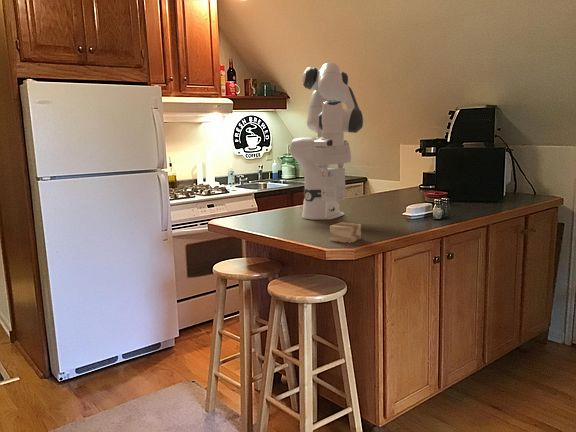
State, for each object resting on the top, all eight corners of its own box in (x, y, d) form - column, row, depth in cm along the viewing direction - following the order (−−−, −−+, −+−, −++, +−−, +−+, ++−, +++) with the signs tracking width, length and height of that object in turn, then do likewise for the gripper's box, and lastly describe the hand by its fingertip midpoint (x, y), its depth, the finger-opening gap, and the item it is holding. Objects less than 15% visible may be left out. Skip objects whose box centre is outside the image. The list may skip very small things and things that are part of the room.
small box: (346, 199, 215) (345, 168, 213) (336, 201, 211) (335, 169, 208) (330, 198, 221) (329, 167, 218) (321, 200, 216) (320, 168, 214)
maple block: (340, 236, 212) (340, 222, 211) (360, 239, 207) (360, 224, 206) (329, 240, 205) (329, 225, 204) (350, 243, 200) (350, 228, 199)
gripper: (342, 139, 221) (342, 172, 223) (310, 142, 206) (310, 177, 209) (354, 140, 216) (354, 173, 219) (322, 142, 202) (323, 178, 205)
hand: (332, 175), depth 214 cm, fingers closed on small box, 6 cm apart
